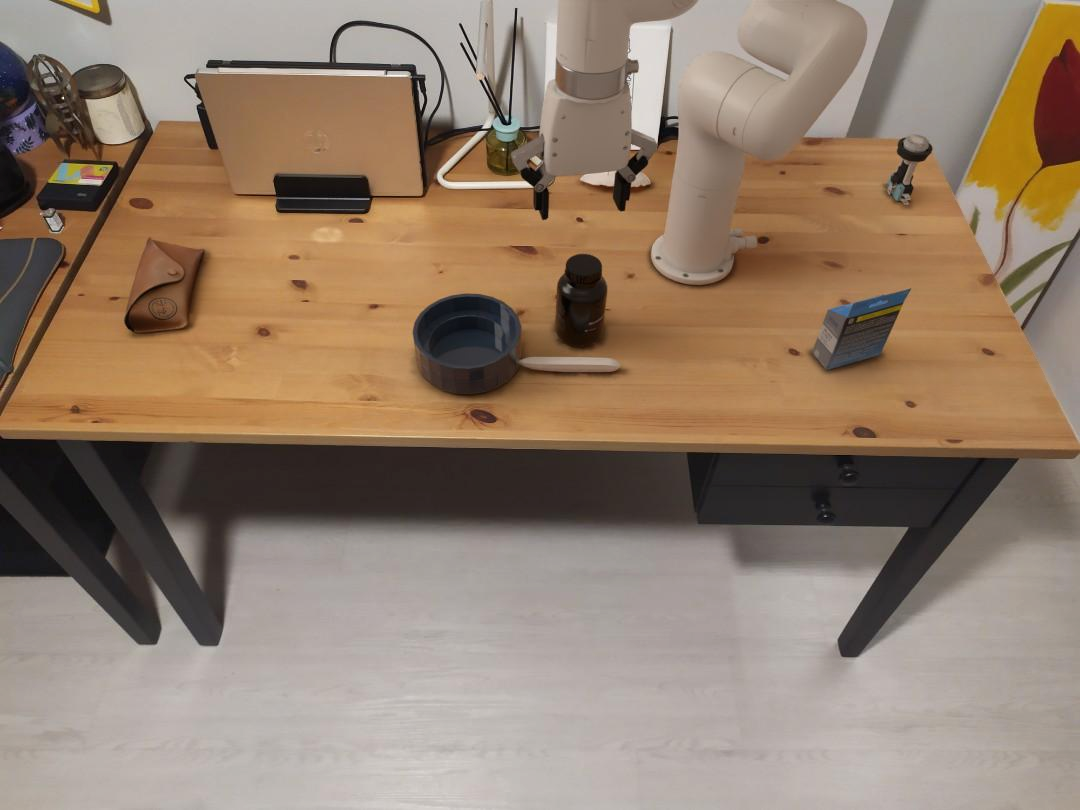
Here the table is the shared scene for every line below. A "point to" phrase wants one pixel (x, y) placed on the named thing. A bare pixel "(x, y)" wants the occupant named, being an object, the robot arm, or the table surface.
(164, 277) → the sunglasses case
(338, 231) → the table surface
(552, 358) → the pen
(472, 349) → the bowl
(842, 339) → the blue cardboard box
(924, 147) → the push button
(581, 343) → the supplement bottle
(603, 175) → the pincushion
